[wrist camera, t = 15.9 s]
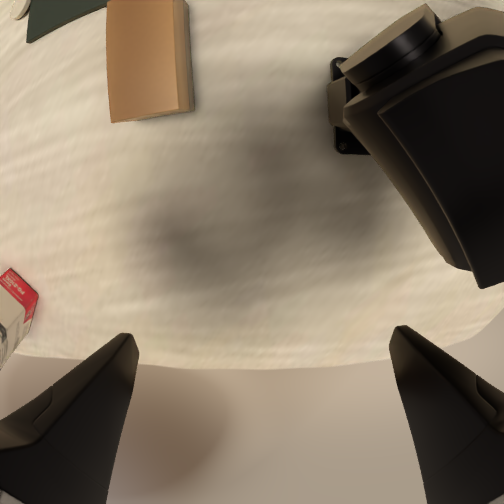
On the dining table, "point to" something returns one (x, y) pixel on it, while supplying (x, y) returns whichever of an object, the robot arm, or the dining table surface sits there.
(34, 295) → the ink box
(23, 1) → the beige disc
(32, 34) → the chalkboard
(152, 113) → the brown rectangular block
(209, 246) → the dining table surface
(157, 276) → the dining table surface
